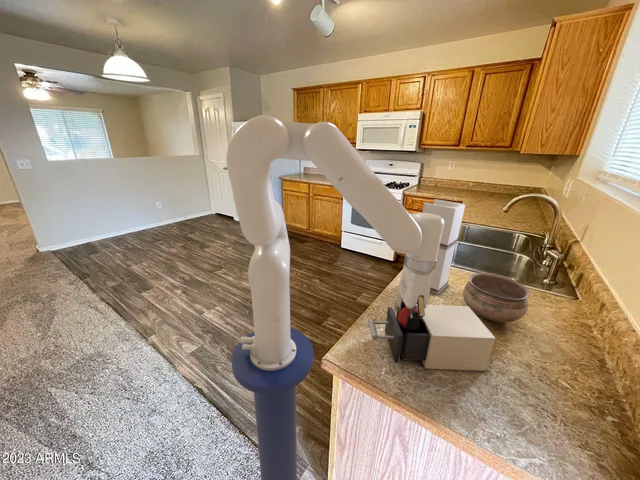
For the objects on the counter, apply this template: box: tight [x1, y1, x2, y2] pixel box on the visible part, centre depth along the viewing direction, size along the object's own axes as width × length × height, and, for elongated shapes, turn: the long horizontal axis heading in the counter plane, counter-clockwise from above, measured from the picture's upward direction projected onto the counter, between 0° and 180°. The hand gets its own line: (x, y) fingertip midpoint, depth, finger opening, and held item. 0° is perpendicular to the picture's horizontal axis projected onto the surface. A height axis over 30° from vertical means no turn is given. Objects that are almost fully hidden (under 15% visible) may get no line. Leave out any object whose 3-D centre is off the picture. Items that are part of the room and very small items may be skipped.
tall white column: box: [421, 198, 466, 295], centre depth 106 cm, size 11×11×35 cm
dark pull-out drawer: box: [368, 306, 431, 364], centre depth 75 cm, size 21×13×9 cm, turn 88°
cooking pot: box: [462, 272, 531, 323], centre depth 91 cm, size 25×19×12 cm
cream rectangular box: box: [415, 304, 496, 372], centre depth 75 cm, size 16×14×11 cm
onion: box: [398, 307, 418, 330], centre depth 73 cm, size 6×6×8 cm
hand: (408, 320), depth 73 cm, fingers closed on onion, 5 cm apart
